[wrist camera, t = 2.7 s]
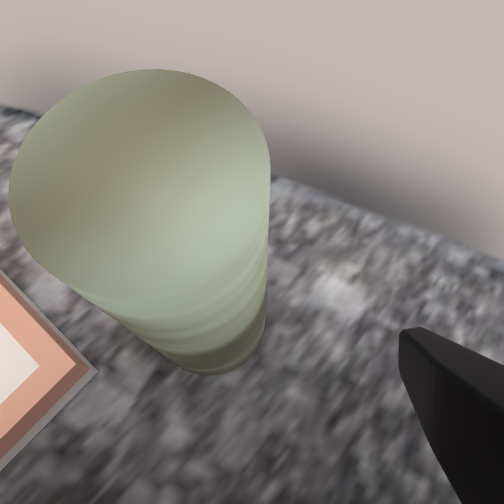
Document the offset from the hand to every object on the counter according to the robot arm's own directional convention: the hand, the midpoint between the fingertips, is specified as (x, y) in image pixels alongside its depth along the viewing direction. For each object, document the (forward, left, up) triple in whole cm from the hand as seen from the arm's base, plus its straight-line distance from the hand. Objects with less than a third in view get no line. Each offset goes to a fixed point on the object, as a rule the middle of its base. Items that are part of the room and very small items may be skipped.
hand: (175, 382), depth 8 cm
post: (+3, -2, -11) cm, 12 cm away
